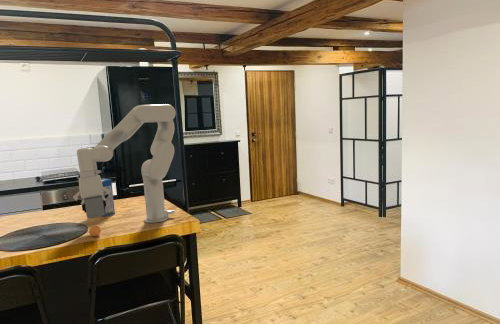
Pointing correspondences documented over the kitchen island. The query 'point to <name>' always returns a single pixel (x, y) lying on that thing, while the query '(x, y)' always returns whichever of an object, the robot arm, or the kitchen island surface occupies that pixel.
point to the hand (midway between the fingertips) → (94, 210)
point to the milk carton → (108, 198)
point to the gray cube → (94, 207)
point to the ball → (94, 230)
